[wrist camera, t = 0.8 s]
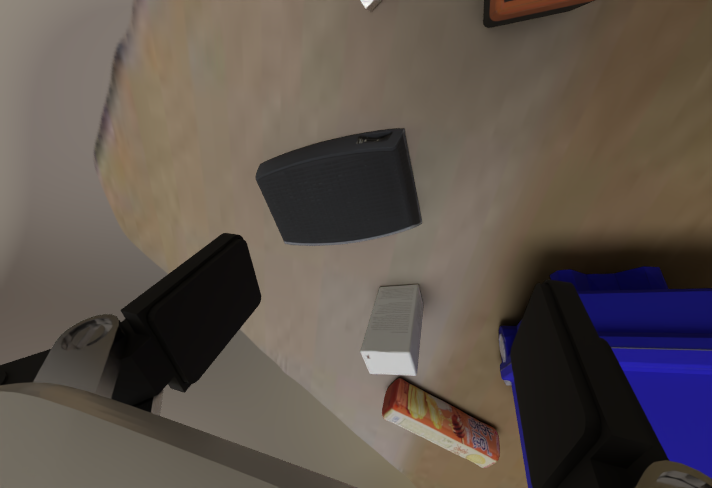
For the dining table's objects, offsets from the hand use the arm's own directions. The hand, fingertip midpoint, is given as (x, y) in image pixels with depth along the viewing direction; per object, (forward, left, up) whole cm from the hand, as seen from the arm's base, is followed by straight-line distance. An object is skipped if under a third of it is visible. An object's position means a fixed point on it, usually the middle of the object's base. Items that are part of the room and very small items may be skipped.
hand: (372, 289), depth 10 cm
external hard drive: (+13, 0, -27) cm, 30 cm away
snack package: (+23, +44, -26) cm, 56 cm away
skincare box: (+15, +18, -26) cm, 35 cm away
